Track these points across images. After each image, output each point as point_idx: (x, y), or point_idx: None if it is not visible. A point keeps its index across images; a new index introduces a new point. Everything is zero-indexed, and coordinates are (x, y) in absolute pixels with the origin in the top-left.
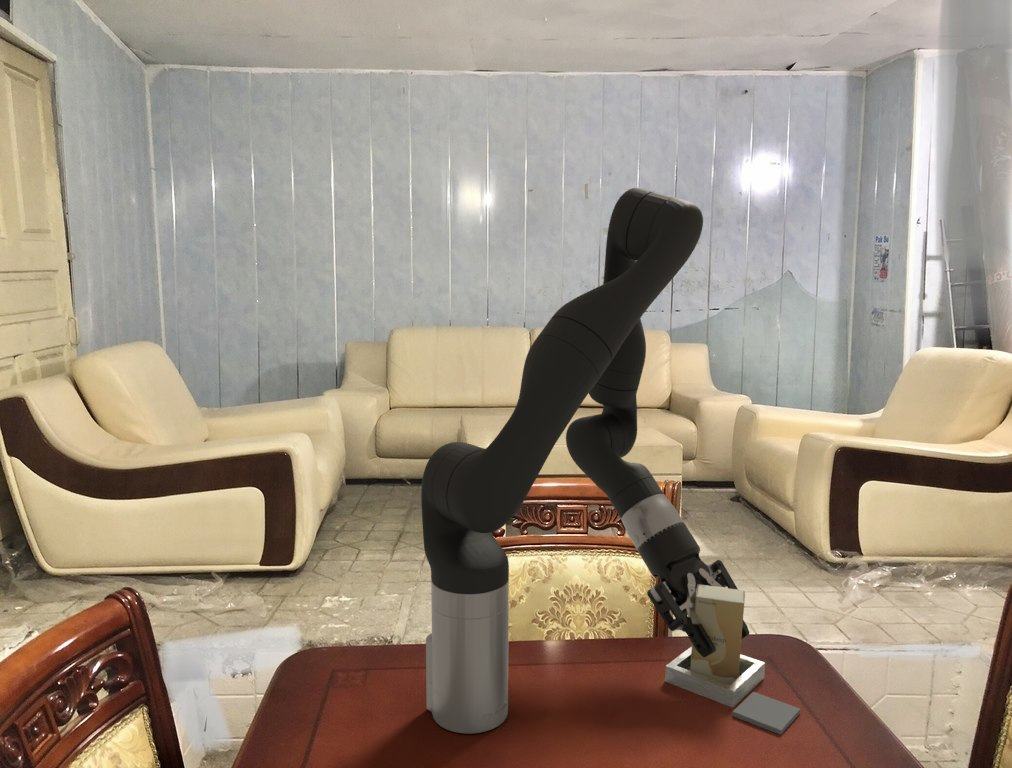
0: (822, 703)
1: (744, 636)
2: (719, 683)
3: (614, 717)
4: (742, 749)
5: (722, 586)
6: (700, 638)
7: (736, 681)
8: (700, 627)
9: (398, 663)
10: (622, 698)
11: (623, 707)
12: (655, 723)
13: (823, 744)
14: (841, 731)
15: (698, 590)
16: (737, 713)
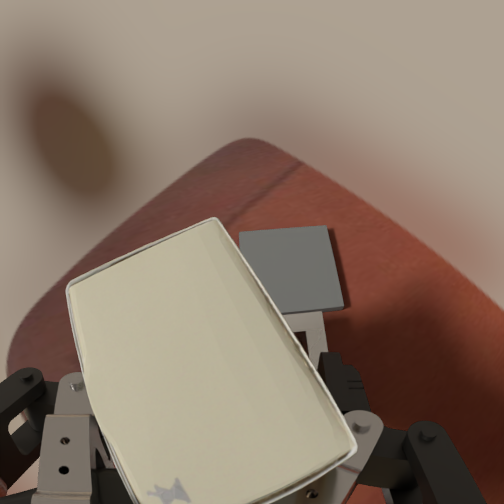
0: (182, 228)
1: None
2: (317, 351)
3: (494, 432)
4: (403, 250)
5: (12, 442)
6: (356, 389)
7: None
8: (345, 401)
9: None
10: None
11: (466, 451)
12: (463, 382)
13: (295, 187)
14: (243, 184)
15: (261, 493)
16: (341, 297)
